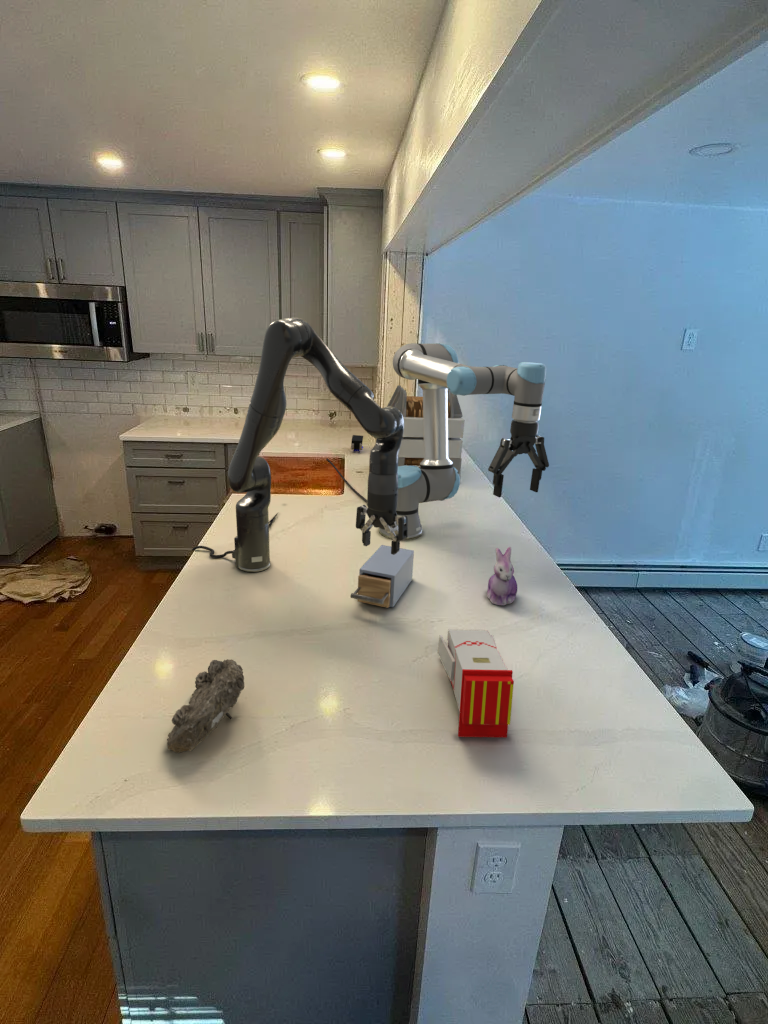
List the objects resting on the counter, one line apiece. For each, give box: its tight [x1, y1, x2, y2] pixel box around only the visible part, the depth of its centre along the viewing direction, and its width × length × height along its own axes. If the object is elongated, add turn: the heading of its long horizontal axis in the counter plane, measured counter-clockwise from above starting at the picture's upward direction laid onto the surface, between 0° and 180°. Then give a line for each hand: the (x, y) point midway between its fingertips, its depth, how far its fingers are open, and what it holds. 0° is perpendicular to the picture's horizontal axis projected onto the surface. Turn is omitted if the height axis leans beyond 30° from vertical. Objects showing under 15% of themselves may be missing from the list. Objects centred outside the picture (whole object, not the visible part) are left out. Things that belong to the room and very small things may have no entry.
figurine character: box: [350, 434, 364, 454], centre depth 311 cm, size 7×8×15 cm
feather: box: [269, 512, 279, 528], centre depth 210 cm, size 2×28×2 cm
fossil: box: [166, 658, 245, 754], centre depth 106 cm, size 22×10×15 cm
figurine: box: [486, 546, 518, 606], centre depth 155 cm, size 9×10×15 cm
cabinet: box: [358, 544, 415, 608], centre depth 158 cm, size 18×10×9 cm, turn 161°
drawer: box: [350, 573, 391, 609], centre depth 154 cm, size 22×9×8 cm, turn 161°
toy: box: [437, 628, 515, 738], centre depth 117 cm, size 12×13×30 cm
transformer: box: [386, 384, 465, 477], centre depth 268 cm, size 34×33×41 cm
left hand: (380, 549), depth 145 cm, fingers open, 8 cm apart
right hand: (515, 493), depth 164 cm, fingers open, 13 cm apart
